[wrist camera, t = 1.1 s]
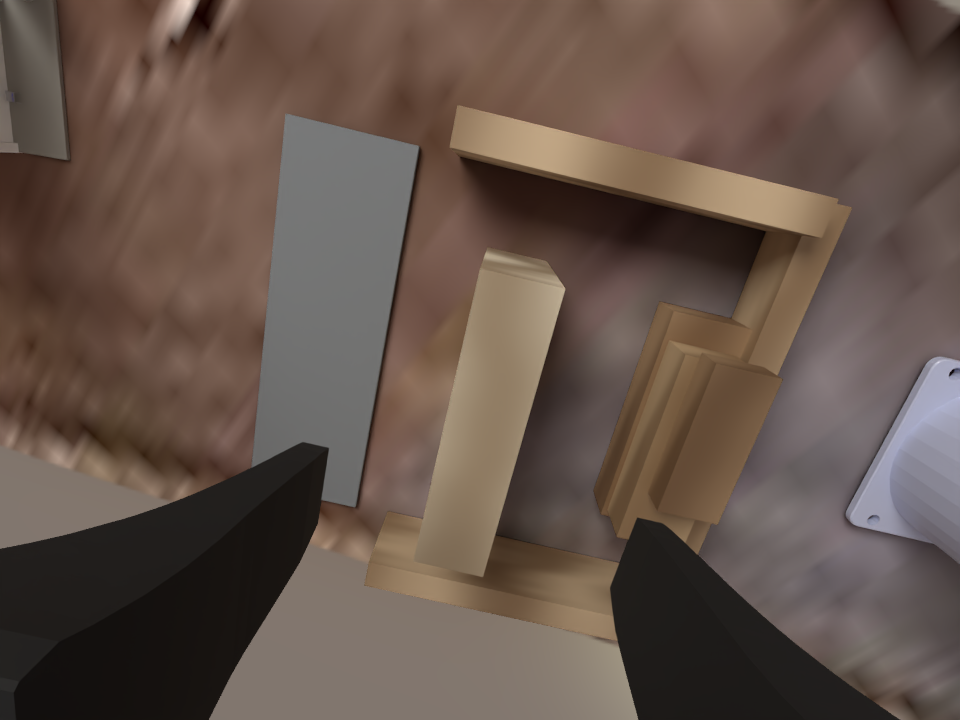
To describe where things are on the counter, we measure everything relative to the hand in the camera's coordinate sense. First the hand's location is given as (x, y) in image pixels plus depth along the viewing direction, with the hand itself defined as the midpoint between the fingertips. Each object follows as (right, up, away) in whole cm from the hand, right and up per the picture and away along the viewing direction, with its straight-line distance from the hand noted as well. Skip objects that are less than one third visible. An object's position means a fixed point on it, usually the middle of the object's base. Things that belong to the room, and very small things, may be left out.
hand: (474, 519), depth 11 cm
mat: (-6, +5, +10) cm, 13 cm away
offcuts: (+8, +2, +10) cm, 13 cm away
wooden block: (+1, +3, +10) cm, 10 cm away
